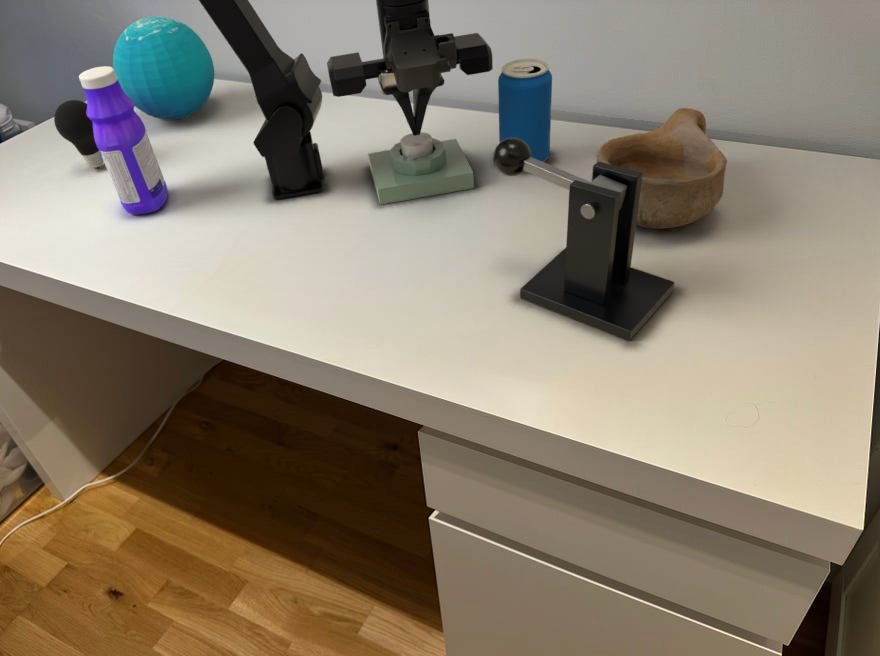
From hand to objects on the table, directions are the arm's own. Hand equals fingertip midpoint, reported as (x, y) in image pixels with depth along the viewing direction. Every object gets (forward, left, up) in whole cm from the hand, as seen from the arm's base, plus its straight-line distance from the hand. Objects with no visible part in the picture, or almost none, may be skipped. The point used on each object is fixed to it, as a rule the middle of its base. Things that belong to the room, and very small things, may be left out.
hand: (416, 134), depth 87 cm
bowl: (+25, -16, -6) cm, 30 cm away
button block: (0, 0, -6) cm, 6 cm away
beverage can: (+14, 0, -6) cm, 15 cm away
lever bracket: (+12, -30, -6) cm, 33 cm away
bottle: (-36, +6, -6) cm, 37 cm away
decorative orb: (-34, +35, -6) cm, 49 cm away
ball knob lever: (+9, -26, +4) cm, 28 cm away
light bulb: (-45, +20, -6) cm, 50 cm away
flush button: (0, 0, -2) cm, 2 cm away
